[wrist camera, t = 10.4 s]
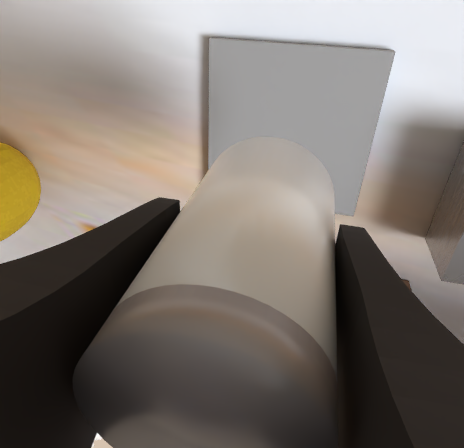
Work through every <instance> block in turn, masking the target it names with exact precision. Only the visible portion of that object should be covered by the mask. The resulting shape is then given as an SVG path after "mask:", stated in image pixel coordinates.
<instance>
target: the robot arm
mask: <svg viewBox="0 0 464 448" xmlns="http://www.w3.org/2000/svg"><path fill="white" fill-rule="evenodd" d="M179 213H180V201H179V200H174V199H167V198H160V197H159V198H156V199H154V200H152V201H149V202H147V203H145V204H143V205H141V206H139V207H137V208H135V209H133V210H131V211H129V212H128V213H126V214H124V215H122V216H120V217H118V218H116V219H114V220H112V221H110V222H108V223H106V224H104V225H102V226H99V227H97V228H95V229H93V230H91V231H88V232H86V233H84V234H82V235H80V236H77V237H75V238H73V239H71V240H68V241H66V242H64V243H61V244H59V245H56V246H53V247H51V248H48V249H45V250H43V251H40V252H37V253H34V254H31V255H29V256H26V257H22V258H19V259H16V260H13V261H9V262H6V263H2V264H0V448H91V447H92V444H93V442H94V439H95V437H96V434H97V432H96V431H95V430H94V429H93V428H92V427H91V425H90V424H89V423H88V421H87V420H86V419H85V417H84V416H83V414H82V412H81V411H80V409H79V407H78V404H77V402H76V400H75V396H74V392H73V374H74V370H75V368H76V365H77V363H78V361H79V360H80V358H81V357H82V355H83V354H84V352H85V351H86V350H87V348H88V347H89V345H90V344H91V342H92V341H93V339H94V338H95V336H96V335H97V333H98V332H99V330H100V329H101V327H102V326H103V325H104V323H105V322H106V320H107V319H108V317H109V316H110V314H111V313H112V311H113V310H114V308H115V307H116V305H117V304H118V302H119V301H120V300H121V298H122V297H123V295H124V294H125V292H126V291H127V289H128V288H129V286H130V285H131V283H132V282H133V280H134V279H135V278H136V276H137V275H138V273H139V272H140V270H141V269H142V267H143V266H144V264H145V263H146V261H147V260H148V258H149V257H150V255H151V254H152V253H153V251H154V250H155V248H156V247H157V245H158V244H159V242H160V241H161V239H162V238H163V236H164V235H165V233H166V232H167V231H168V229H169V228H170V226H171V225H172V223H173V222H174V220H175V219H176V217H177V216H178V214H179ZM335 269H336V335H337V401H338V448H464V344H463V343H461V342H460V341H459V340H458V339H457V338H456V337H455V336H454V335H453V334H452V333H451V332H450V331H449V330H448V329H447V328H446V327H445V326H444V325H443V324H442V323H441V322H439V321H438V320H437V319H436V318H435V317H434V316H433V314H432V313H431V312H430V311H429V310H428V309H427V308H426V307H425V306H424V305H423V304H422V303H421V302H420V300H419V299H418V298H417V297H416V296H415V295H414V294H413V293H412V291H411V290H410V289H409V288H408V287H407V286H406V284H405V283H404V282H403V281H402V279H401V278H400V277H399V276H398V274H397V273H396V272H395V270H394V269H393V268H392V267H391V265H390V264H389V262H388V261H387V260H386V258H385V257H384V256H383V254H382V253H381V251H380V250H379V248H378V247H377V246H376V244H375V243H374V241H373V240H372V238H371V237H370V235H369V234H368V233H367V231H366V230H365V228H361V227H355V226H348V225H341V224H340V227H339V232H338V236H337V240H336V244H335Z"/></svg>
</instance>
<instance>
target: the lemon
mask: <svg viewBox="0 0 464 448" xmlns="http://www.w3.org/2000/svg"><path fill="white" fill-rule="evenodd" d="M40 194H41V185H40V179H39V176H38V174H37V171H36V169H35V167H34V166H33V164H32V163H31V162H30V161H29V159H28V158H27V157H26V156H25V155H23V154H22V153H21V152H20V151H18V150H17V149H15V148H13V147H11V146H9V145H7V144H4V143H1V142H0V241H2V240H4V239H6V238H8V237H9V236H11V235H12V234H13V233H15V232H16V231H17V230H18V229H20V228H21V227H22V226H23V225H24V224H25V223H26V222H28V220H29V219H30V218H31V216H32V215H33V213H34V212H35V210H36V208H37V206H38V204H39V200H40Z"/></svg>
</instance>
